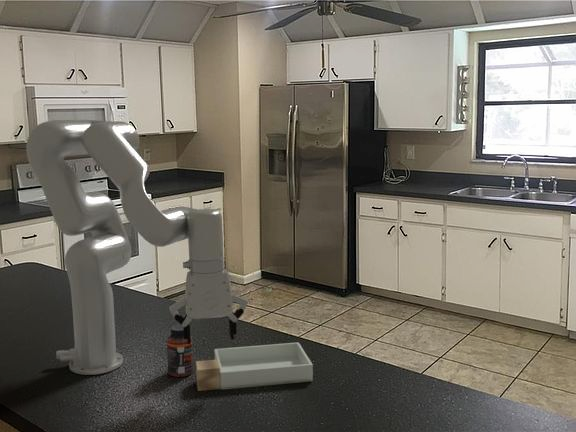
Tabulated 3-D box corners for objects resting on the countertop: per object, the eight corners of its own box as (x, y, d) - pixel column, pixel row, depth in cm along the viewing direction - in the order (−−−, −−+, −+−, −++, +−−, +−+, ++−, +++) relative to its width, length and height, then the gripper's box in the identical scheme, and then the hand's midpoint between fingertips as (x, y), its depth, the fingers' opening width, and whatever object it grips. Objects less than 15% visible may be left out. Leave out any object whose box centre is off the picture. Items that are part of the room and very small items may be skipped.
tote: (220, 389, 138) (220, 372, 138) (214, 364, 152) (214, 349, 151) (312, 381, 143) (312, 364, 142) (298, 357, 156) (298, 342, 156)
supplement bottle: (188, 379, 144) (186, 332, 142) (163, 377, 145) (162, 330, 143) (196, 368, 149) (195, 324, 148) (173, 366, 151) (172, 322, 149)
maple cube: (197, 391, 138) (197, 370, 137) (196, 381, 143) (195, 361, 142) (220, 389, 139) (219, 368, 138) (218, 379, 144) (217, 359, 143)
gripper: (167, 272, 131) (171, 349, 133) (248, 266, 134) (251, 341, 137) (166, 264, 138) (170, 338, 140) (243, 259, 141) (246, 330, 144)
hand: (210, 339), depth 139 cm, fingers open, 9 cm apart
